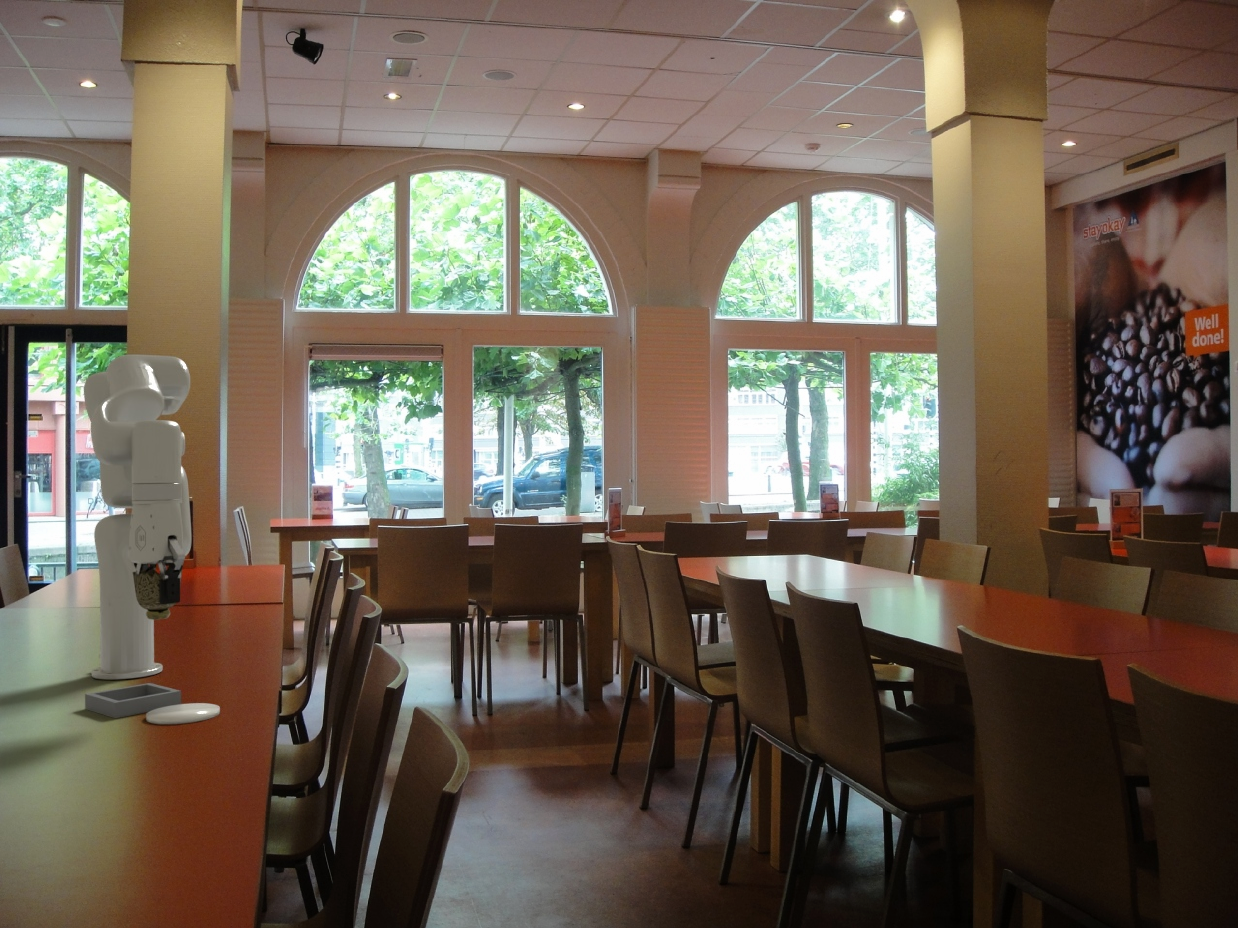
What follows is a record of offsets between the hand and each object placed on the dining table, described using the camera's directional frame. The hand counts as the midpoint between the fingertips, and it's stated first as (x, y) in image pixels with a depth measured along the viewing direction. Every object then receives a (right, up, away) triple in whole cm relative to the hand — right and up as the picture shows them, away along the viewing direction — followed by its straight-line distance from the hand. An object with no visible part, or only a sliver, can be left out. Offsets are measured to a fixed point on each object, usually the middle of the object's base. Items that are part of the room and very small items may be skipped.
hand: (158, 601), depth 168 cm
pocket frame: (-6, -18, +4) cm, 20 cm away
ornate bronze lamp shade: (0, -3, 0) cm, 3 cm away
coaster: (+5, -18, -3) cm, 19 cm away
